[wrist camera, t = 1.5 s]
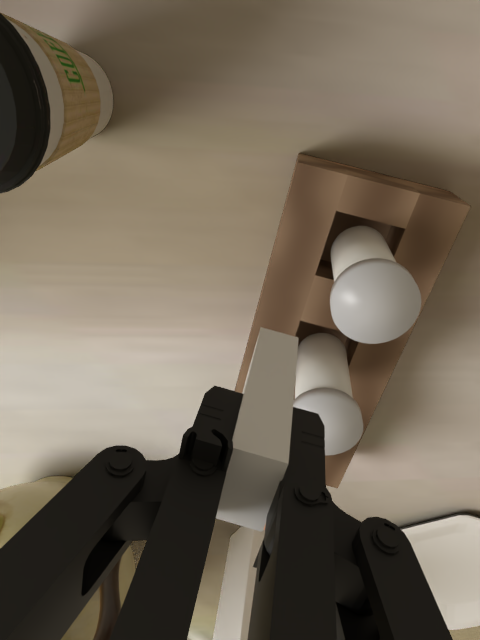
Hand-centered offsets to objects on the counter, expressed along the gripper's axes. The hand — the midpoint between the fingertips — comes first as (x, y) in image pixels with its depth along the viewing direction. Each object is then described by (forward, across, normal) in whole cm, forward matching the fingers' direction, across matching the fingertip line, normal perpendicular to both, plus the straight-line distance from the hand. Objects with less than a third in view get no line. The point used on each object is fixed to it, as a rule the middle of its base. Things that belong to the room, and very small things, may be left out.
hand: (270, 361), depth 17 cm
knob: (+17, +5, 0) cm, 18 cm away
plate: (+24, +30, -36) cm, 52 cm away
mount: (+22, +5, -9) cm, 24 cm away
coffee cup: (+22, -19, +5) cm, 30 cm away
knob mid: (+17, +5, -9) cm, 20 cm away
